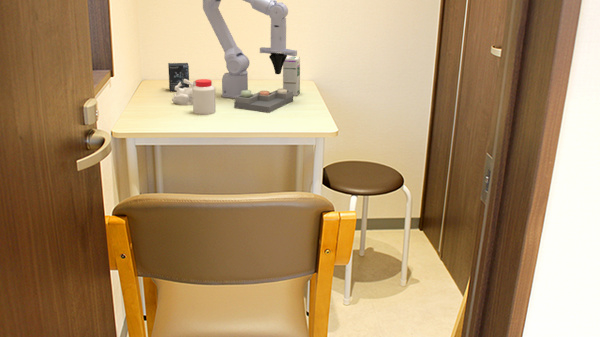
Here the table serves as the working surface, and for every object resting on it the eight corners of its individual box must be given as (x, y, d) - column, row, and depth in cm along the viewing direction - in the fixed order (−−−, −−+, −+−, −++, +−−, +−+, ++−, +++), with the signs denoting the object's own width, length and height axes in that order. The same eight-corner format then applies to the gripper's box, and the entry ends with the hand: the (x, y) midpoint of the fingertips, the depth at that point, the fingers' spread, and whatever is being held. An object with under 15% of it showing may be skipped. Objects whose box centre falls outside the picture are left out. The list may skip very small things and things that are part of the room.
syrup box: (297, 96, 236) (297, 59, 231) (282, 95, 237) (282, 58, 232) (299, 93, 241) (300, 56, 236) (285, 92, 242) (286, 55, 237)
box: (169, 92, 238) (168, 65, 234) (169, 89, 243) (167, 62, 239) (189, 91, 240) (188, 65, 236) (189, 88, 245) (187, 62, 241)
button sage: (239, 97, 216) (239, 91, 215) (244, 95, 219) (244, 89, 219) (248, 98, 215) (248, 92, 214) (253, 96, 218) (253, 90, 217)
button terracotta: (257, 97, 221) (257, 92, 220) (262, 95, 224) (262, 90, 223) (266, 98, 219) (266, 93, 219) (271, 96, 222) (271, 91, 222)
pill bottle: (197, 115, 205) (196, 83, 202) (190, 110, 212) (189, 79, 208) (218, 113, 209) (218, 82, 205) (211, 108, 215) (210, 77, 212)
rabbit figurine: (204, 100, 225) (203, 75, 222) (205, 106, 218) (204, 79, 215) (171, 102, 223) (170, 76, 220) (172, 107, 216) (170, 80, 213)
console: (234, 107, 216) (234, 97, 215) (260, 96, 234) (260, 86, 232) (269, 112, 211) (269, 101, 210) (293, 100, 228) (293, 90, 227)
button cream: (275, 95, 225) (275, 90, 224) (279, 93, 228) (279, 88, 227) (284, 96, 223) (284, 91, 223) (288, 94, 226) (288, 89, 226)
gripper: (255, 36, 221) (255, 73, 226) (291, 39, 215) (290, 77, 220) (264, 34, 227) (264, 70, 232) (299, 37, 222) (298, 74, 226)
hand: (278, 73), depth 226 cm, fingers closed
